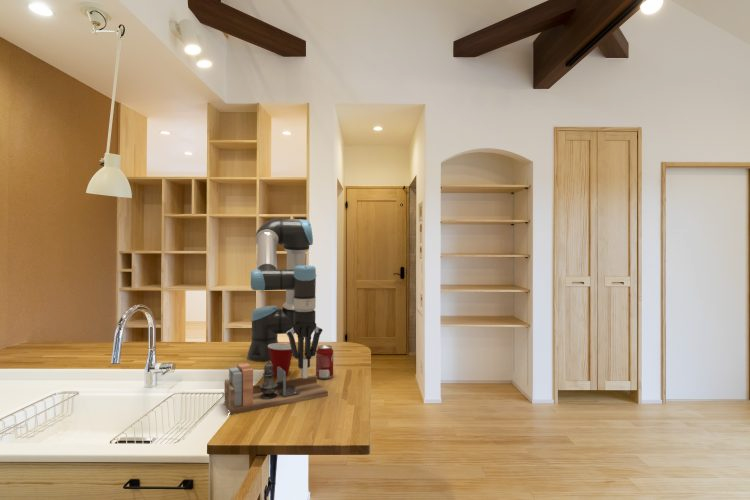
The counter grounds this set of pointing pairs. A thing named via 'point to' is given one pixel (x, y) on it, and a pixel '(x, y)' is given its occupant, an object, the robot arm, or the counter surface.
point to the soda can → (324, 362)
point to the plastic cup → (280, 356)
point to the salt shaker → (268, 382)
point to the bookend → (284, 384)
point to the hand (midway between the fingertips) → (303, 377)
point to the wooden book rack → (247, 396)
